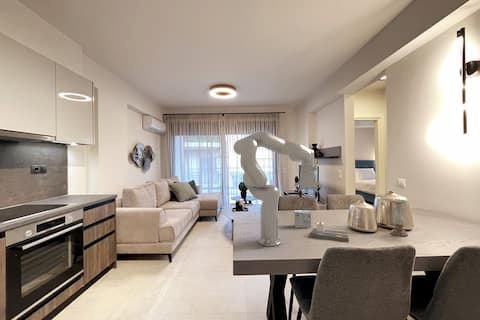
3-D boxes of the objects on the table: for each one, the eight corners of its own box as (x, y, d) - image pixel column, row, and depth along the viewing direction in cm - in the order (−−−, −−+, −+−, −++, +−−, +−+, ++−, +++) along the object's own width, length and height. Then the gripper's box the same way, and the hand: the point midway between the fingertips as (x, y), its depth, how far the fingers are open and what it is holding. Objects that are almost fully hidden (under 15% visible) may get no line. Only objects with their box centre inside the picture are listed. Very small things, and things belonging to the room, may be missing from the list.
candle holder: (387, 233, 139) (386, 200, 139) (395, 231, 143) (394, 198, 143) (402, 237, 131) (402, 202, 131) (411, 235, 135) (410, 200, 135)
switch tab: (324, 232, 134) (323, 223, 134) (316, 232, 135) (316, 222, 135) (324, 231, 137) (324, 221, 137) (317, 230, 139) (317, 221, 139)
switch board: (348, 242, 125) (348, 236, 125) (310, 237, 133) (310, 232, 133) (348, 235, 136) (348, 230, 136) (313, 231, 144) (313, 226, 144)
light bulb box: (309, 225, 158) (309, 210, 158) (311, 228, 151) (311, 212, 152) (293, 225, 159) (293, 209, 159) (295, 228, 152) (295, 211, 153)
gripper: (323, 169, 140) (323, 197, 139) (294, 169, 147) (295, 196, 146) (322, 169, 133) (322, 199, 133) (292, 169, 140) (292, 198, 140)
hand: (308, 197), depth 139 cm, fingers open, 8 cm apart
